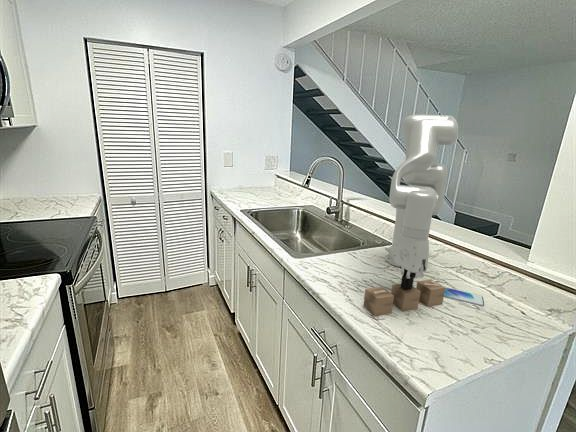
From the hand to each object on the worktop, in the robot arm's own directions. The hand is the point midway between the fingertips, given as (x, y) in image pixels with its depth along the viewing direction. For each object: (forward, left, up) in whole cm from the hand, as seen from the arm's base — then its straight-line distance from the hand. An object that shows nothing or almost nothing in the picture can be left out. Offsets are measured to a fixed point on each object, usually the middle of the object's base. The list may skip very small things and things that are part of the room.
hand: (406, 288), depth 99 cm
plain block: (0, 0, -6) cm, 6 cm away
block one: (0, -10, -6) cm, 12 cm away
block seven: (0, +10, -6) cm, 12 cm away
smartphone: (0, +23, -7) cm, 24 cm away
